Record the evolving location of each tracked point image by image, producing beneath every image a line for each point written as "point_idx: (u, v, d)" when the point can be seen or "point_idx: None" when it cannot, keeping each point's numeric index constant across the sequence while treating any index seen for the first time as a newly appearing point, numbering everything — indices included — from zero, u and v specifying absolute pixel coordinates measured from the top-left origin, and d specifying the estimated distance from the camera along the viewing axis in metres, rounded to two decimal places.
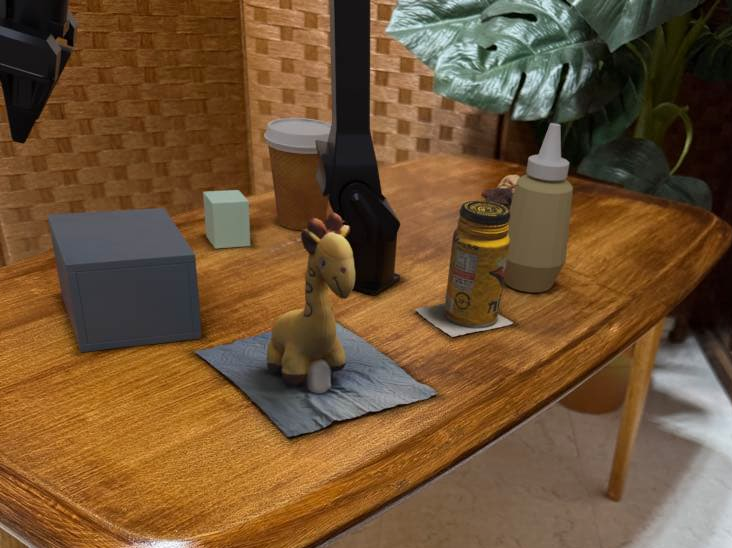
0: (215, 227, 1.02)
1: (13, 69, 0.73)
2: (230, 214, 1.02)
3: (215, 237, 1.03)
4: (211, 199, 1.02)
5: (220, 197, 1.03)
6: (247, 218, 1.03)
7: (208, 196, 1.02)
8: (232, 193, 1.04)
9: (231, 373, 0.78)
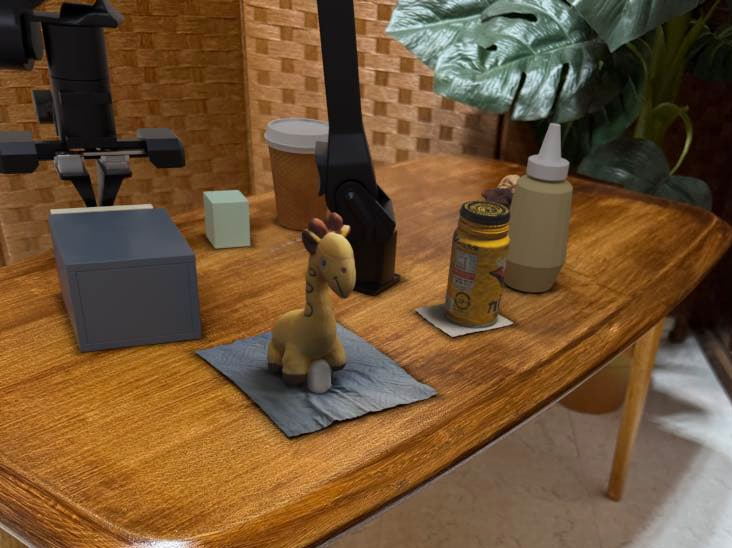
0: (215, 227, 1.02)
1: (56, 167, 0.89)
2: (230, 214, 1.02)
3: (215, 237, 1.03)
4: (211, 199, 1.02)
5: (220, 197, 1.03)
6: (247, 218, 1.03)
7: (208, 196, 1.02)
8: (232, 193, 1.04)
9: (231, 373, 0.78)
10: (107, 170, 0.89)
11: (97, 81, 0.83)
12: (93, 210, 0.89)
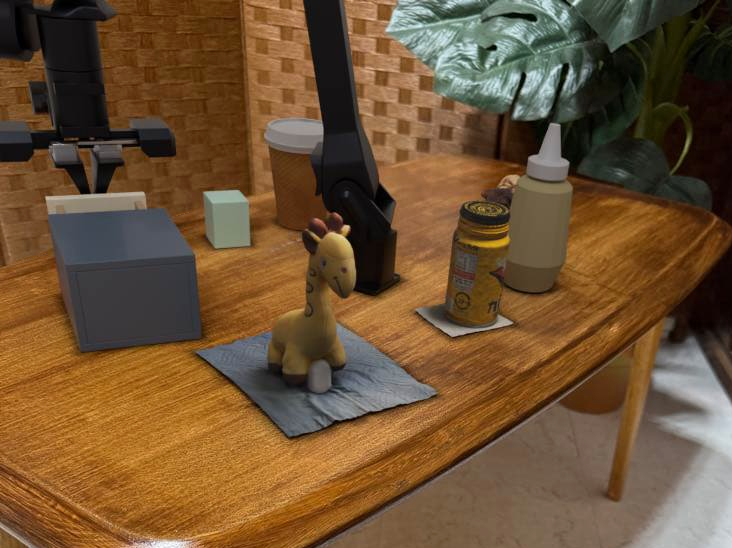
0: (215, 227, 1.02)
1: (51, 156, 0.92)
2: (230, 214, 1.02)
3: (215, 237, 1.03)
4: (211, 199, 1.02)
5: (220, 197, 1.03)
6: (247, 218, 1.03)
7: (208, 196, 1.02)
8: (232, 193, 1.04)
9: (231, 373, 0.78)
10: (100, 159, 0.92)
11: (91, 72, 0.86)
12: (87, 197, 0.92)
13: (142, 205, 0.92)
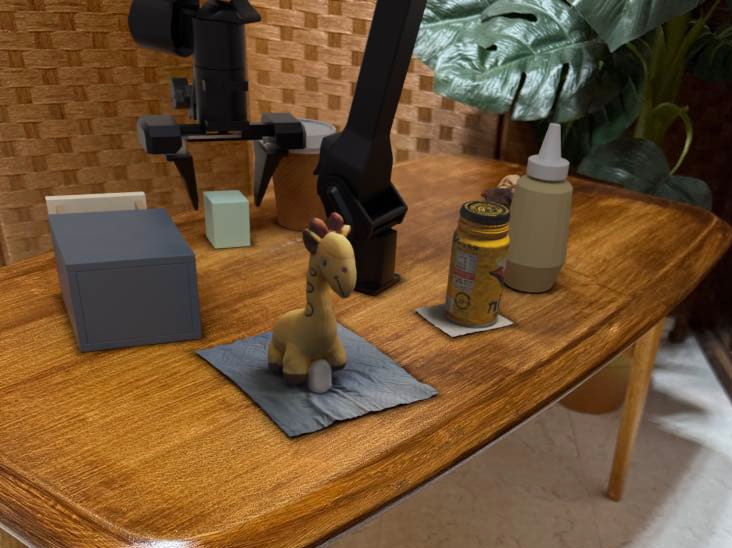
0: (215, 227, 1.02)
1: None
2: (230, 214, 1.02)
3: (215, 237, 1.03)
4: (211, 199, 1.02)
5: (220, 197, 1.03)
6: (247, 218, 1.03)
7: (208, 196, 1.02)
8: (232, 193, 1.04)
9: (231, 373, 0.78)
10: (268, 150, 1.00)
11: (237, 70, 0.93)
12: (87, 197, 0.92)
13: (142, 205, 0.92)
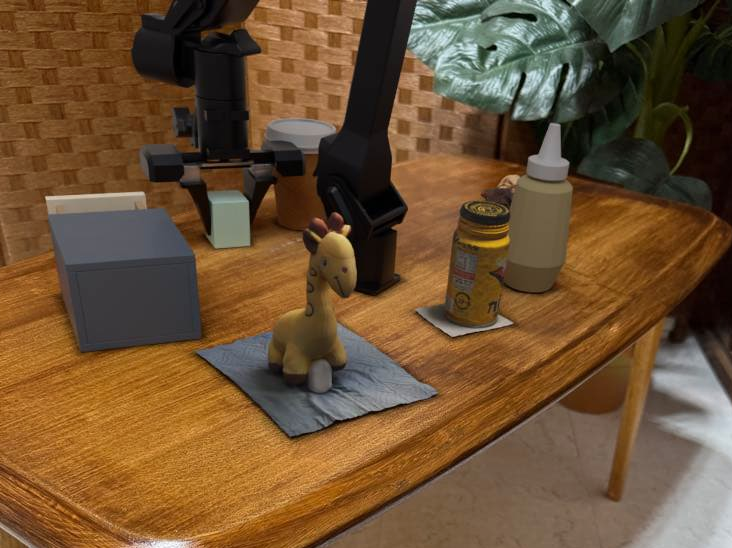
0: (215, 227, 1.02)
1: None
2: (229, 214, 1.02)
3: (215, 237, 1.03)
4: (211, 199, 1.02)
5: (220, 197, 1.03)
6: (247, 218, 1.03)
7: (208, 196, 1.02)
8: (232, 193, 1.04)
9: (231, 373, 0.78)
10: (256, 177, 1.02)
11: (238, 101, 0.95)
12: (87, 197, 0.92)
13: (142, 205, 0.92)
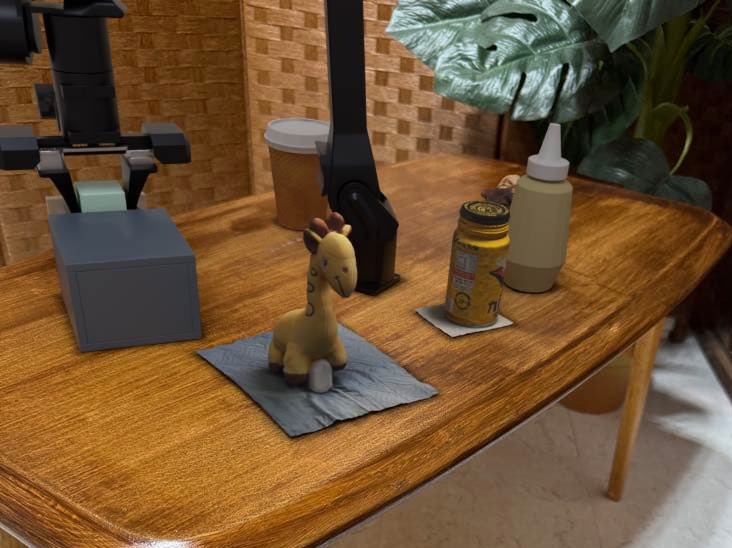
0: None
1: None
2: (102, 208, 0.88)
3: None
4: (80, 190, 0.87)
5: (91, 188, 0.88)
6: None
7: (78, 187, 0.88)
8: (108, 183, 0.90)
9: (232, 373, 0.78)
10: (133, 165, 0.87)
11: (101, 74, 0.81)
12: None
13: (142, 205, 0.92)
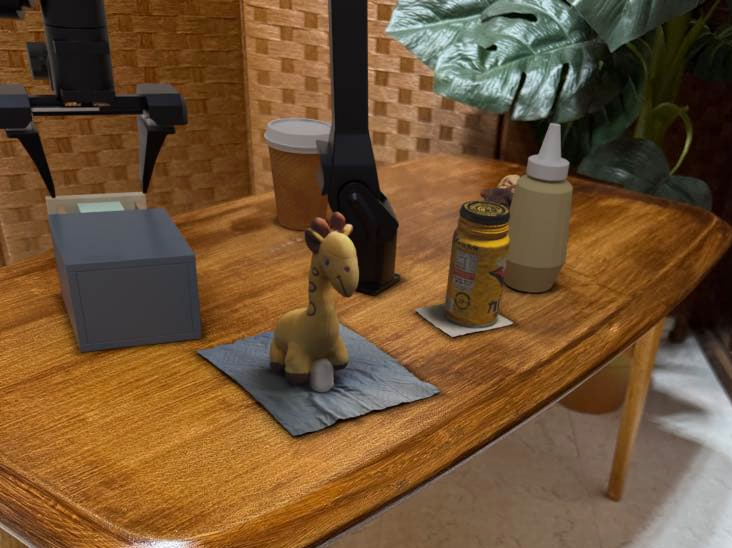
0: None
1: None
2: None
3: None
4: (83, 212, 0.89)
5: (94, 209, 0.90)
6: None
7: (81, 209, 0.90)
8: (110, 205, 0.91)
9: (233, 372, 0.78)
10: (150, 126, 0.86)
11: (94, 29, 0.78)
12: (87, 197, 0.92)
13: (142, 205, 0.92)
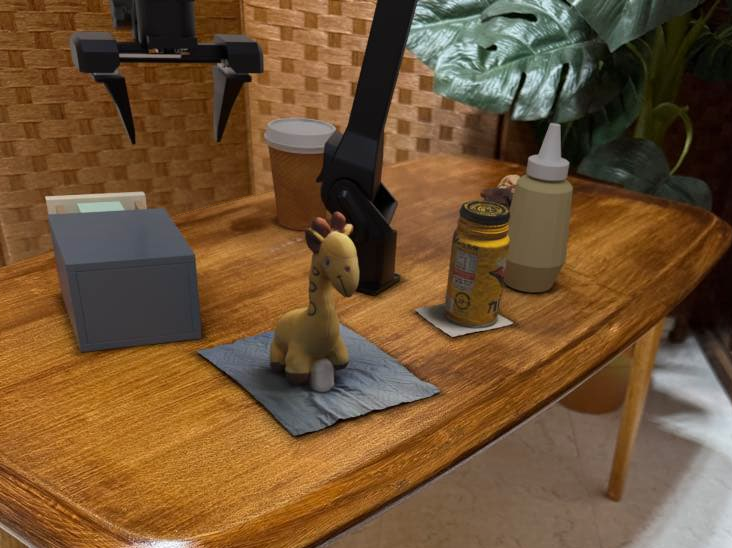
0: None
1: None
2: None
3: None
4: (83, 212, 0.89)
5: (94, 209, 0.90)
6: None
7: (81, 209, 0.90)
8: (110, 205, 0.91)
9: (234, 372, 0.78)
10: (227, 74, 0.89)
11: None
12: (87, 197, 0.92)
13: (142, 205, 0.92)
